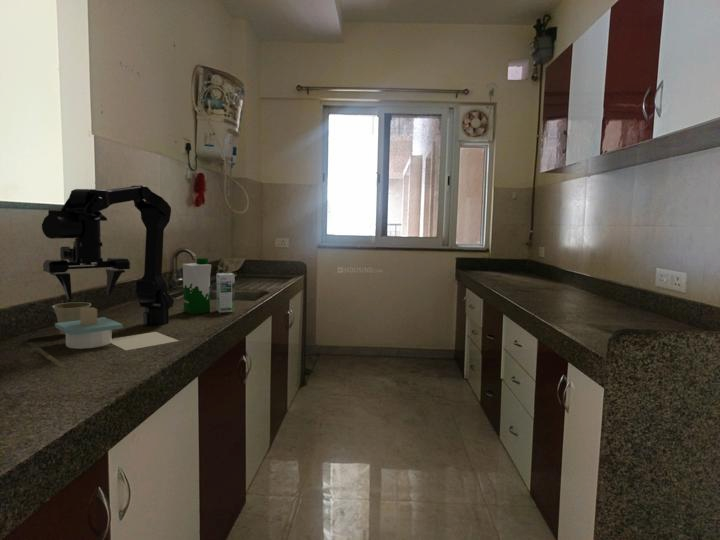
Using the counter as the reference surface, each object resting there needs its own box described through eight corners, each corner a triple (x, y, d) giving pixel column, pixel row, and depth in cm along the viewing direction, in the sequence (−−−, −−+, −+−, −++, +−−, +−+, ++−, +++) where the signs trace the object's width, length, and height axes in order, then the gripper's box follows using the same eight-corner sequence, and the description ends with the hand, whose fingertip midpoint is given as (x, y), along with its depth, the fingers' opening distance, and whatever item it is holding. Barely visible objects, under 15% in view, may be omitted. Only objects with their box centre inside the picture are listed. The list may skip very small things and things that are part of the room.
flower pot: (73, 339, 124) (72, 309, 123) (44, 337, 125) (43, 306, 125) (99, 332, 133) (99, 303, 132) (72, 329, 135) (71, 301, 134)
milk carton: (213, 312, 167) (213, 259, 165) (189, 315, 160) (189, 259, 159) (203, 309, 173) (203, 257, 171) (180, 311, 167) (179, 258, 165)
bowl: (102, 339, 125) (102, 321, 124) (117, 346, 118) (116, 327, 118) (61, 345, 117) (60, 327, 117) (74, 353, 111) (73, 333, 110)
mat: (155, 334, 132) (155, 331, 132) (179, 343, 123) (179, 340, 123) (104, 342, 122) (104, 339, 122) (126, 353, 113) (125, 350, 112)
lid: (105, 320, 126) (104, 303, 125) (122, 328, 118) (122, 309, 118) (55, 327, 117) (54, 308, 116) (70, 335, 109) (70, 315, 109)
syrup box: (219, 313, 166) (219, 274, 165) (216, 310, 172) (216, 272, 170) (234, 312, 169) (235, 273, 168) (231, 309, 174) (231, 272, 173)
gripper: (113, 236, 128) (115, 290, 129) (35, 236, 114) (37, 297, 115) (130, 238, 121) (131, 295, 122) (49, 238, 107) (51, 303, 108)
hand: (89, 297), depth 117 cm, fingers open, 9 cm apart
